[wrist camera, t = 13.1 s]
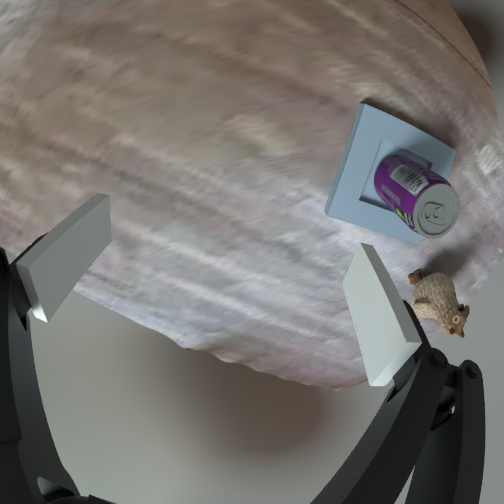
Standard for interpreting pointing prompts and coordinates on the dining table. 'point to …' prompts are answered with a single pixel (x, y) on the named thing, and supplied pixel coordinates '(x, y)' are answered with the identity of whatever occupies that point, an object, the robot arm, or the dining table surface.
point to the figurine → (438, 302)
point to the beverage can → (417, 196)
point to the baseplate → (366, 162)
